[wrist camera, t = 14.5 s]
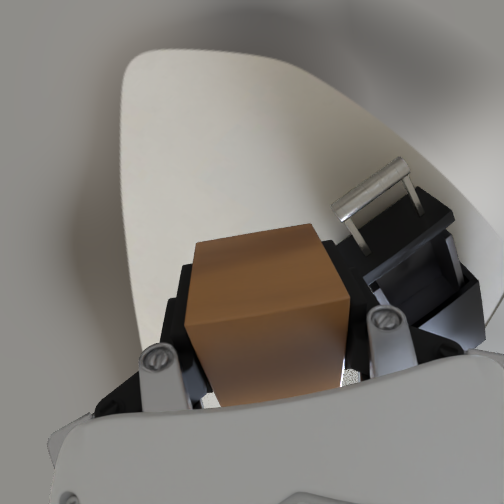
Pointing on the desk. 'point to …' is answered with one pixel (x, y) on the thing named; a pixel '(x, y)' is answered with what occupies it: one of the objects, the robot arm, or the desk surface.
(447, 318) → the black drawer unit
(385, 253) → the drawer with bar handle
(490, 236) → the desk surface
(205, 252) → the tan wooden cube
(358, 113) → the desk surface
